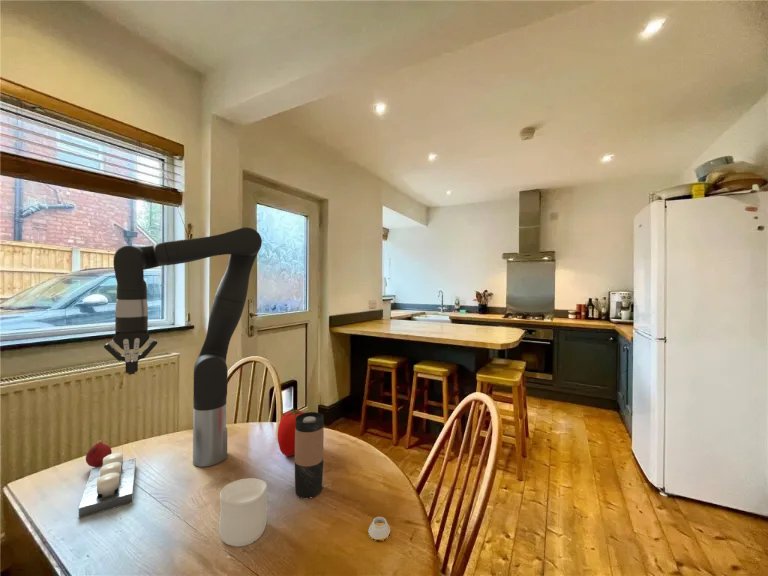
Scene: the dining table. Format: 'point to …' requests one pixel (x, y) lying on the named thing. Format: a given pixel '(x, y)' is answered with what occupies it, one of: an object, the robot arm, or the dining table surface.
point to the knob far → (113, 458)
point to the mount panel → (121, 495)
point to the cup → (243, 511)
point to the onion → (97, 454)
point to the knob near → (108, 484)
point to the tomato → (288, 432)
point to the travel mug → (309, 454)
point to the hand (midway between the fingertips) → (131, 373)
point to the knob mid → (111, 468)
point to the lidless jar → (379, 528)
